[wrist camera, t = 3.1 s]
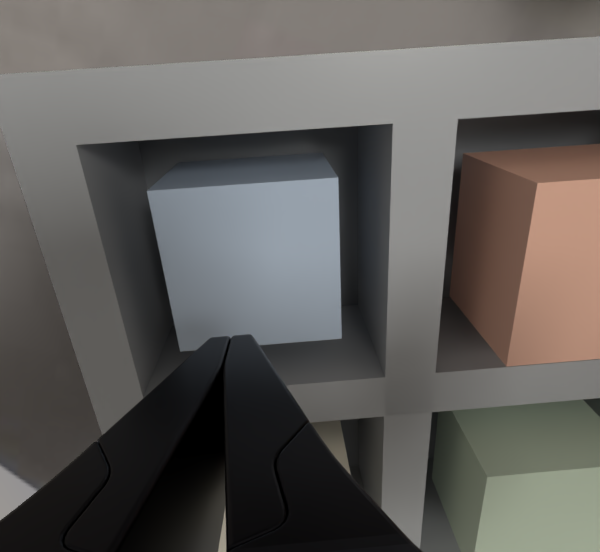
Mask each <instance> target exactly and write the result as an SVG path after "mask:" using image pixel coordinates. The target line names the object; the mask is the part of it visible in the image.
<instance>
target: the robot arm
mask: <svg viewBox="0 0 600 552" xmlns="http://www.w3.org/2000/svg"><path fill="white" fill-rule="evenodd" d="M225 510H226V552H423V551H422V550H421V549H419V548H418V547H417V546H416V545H415V544H414V543H413V542H412V541H411V540H410V539H409V538H408V537H407V536H406V535H405V534H404V533H403V532H402V531H401V529H400V528H399V527H398V526H397V525H396V524H395V523H394V522H393V521H392V520H391V519H390V518H389V516H388V515H387V514H386V513H385V512H384V511H383V510H382V509H381V508H380V507H379V506H378V504H377V503H376V502H375V501H374V500H373V499H372V498H371V497H370V496H369V495H368V494H367V493H366V491H365V490H364V489H363V488H362V487H361V486H360V485H359V484H358V483H357V482H356V481H355V480H354V478H353V477H352V476H351V475H350V474H349V473H348V471H347V470H346V469H345V468H344V467H343V466H342V465H341V463H340V462H339V461H338V460H337V459H336V458H335V456H334V455H333V454H332V452H331V451H330V450H329V448H328V447H327V445H326V444H325V443H324V441H323V440H322V439H321V437H320V436H319V434H318V433H317V431H316V430H315V428H314V427H313V425H312V424H311V423H310V421H309V420H308V418H307V417H306V415H305V414H304V412H303V411H302V409H301V408H300V406H299V405H298V403H297V402H296V400H295V399H294V397H293V395H292V394H291V392H290V391H289V389H288V388H287V386H286V385H285V383H284V382H283V380H282V379H281V377H280V376H279V374H278V373H277V371H276V370H275V368H274V367H273V365H272V364H271V362H270V361H269V359H268V358H267V356H266V355H265V353H264V352H263V350H262V349H261V347H260V346H259V344H258V343H257V341H256V340H255V338H254V337H253V336H252V335H251V334H245V335H234V336H232V338H230V337H229V336H220V337H211V338H209V339H208V340H207V341H206V342H205V343H204V344H203V345H201V346H200V347H199V348H198V349H197V350H196V351H195V352H194V353H193V354H191V355H190V356H189V357H188V358H187V359H186V360H185V361H184V362H183V363H182V364H180V365H179V366H178V367H177V368H176V369H175V370H174V371H173V372H172V373H170V374H169V375H168V376H167V377H166V378H165V379H164V380H163V381H162V382H160V383H159V384H158V385H157V386H156V387H155V388H154V389H153V390H152V391H151V392H149V393H148V394H147V395H146V396H145V397H144V398H143V399H142V400H141V401H139V402H138V403H137V404H136V405H135V406H134V407H133V408H132V409H131V410H130V411H128V412H127V413H126V414H125V415H124V416H123V417H122V418H121V419H120V420H118V421H117V422H116V423H115V424H114V425H113V426H112V427H111V428H110V429H109V430H107V431H106V432H105V433H104V434H103V435H102V436H101V437H100V438H99V439H98V442H94V443H93V444H92V445H91V446H89V447H88V448H87V449H86V450H85V451H84V452H83V453H82V454H81V455H80V456H78V457H77V458H76V459H75V460H74V461H73V462H72V463H70V464H69V465H68V466H67V467H66V468H65V469H63V470H62V471H61V472H60V473H59V474H58V475H57V476H55V477H54V478H53V479H52V480H51V481H50V482H48V483H47V484H46V485H45V486H43V487H42V488H41V489H40V490H38V491H37V492H36V493H35V494H33V495H32V496H31V497H30V498H29V499H27V500H26V501H25V502H23V503H22V504H21V505H20V506H18V507H17V508H16V509H15V510H13V511H12V512H11V513H9V514H8V515H7V516H6V517H4V518H3V519H2V520H0V552H218V549H219V542H220V536H221V530H222V524H223V518H224V512H225Z"/></svg>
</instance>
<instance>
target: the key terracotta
mask: <svg viewBox="0 0 600 552" xmlns="http://www.w3.org/2000/svg"><path fill="white" fill-rule="evenodd" d="M449 296H450V297H451V299H452V300H453V301H454V302H455V304H456V305H457V306H458V307H459V309H460V310H461V311H462V312H463V314H464V315H465V316H466V317H467V318H468V320H469V321H470V322H471V323H472V325H473V326H474V327H475V328H476V330H477V331H478V332H479V333H480V335H481V336H482V337H483V338H484V340H485V341H486V342H487V343H488V345H489V346H490V347H491V348H492V350H493V351H494V352H495V353H496V355H497V356H498V357H499V358H500V360H501V361H502V362H503V363H504V364H505V366H506V367H508V366H520V365H532V364H544V363H556V362H568V361H580V360H592V359H600V144H589V145H574V146H560V147H546V148H531V149H517V150H503V151H488V152H474V153H463V159H462V170H461V180H460V190H459V201H458V211H457V222H456V232H455V242H454V253H453V263H452V274H451V284H450V294H449Z"/></svg>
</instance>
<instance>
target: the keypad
mask: <svg viewBox="0 0 600 552" xmlns="http://www.w3.org/2000/svg"><path fill="white" fill-rule="evenodd" d="M0 127H1V130H2V133H3V136H4V139H5V142H6V145H7V148H8V152H9V155H10V158H11V161H12V164H13V167H14V170H15V173H16V176H17V179H18V182H19V185H20V188H21V191H22V194H23V197H24V200H25V203H26V206H27V209H28V212H29V215H30V218H31V221H32V224H33V227H34V230H35V233H36V236H37V239H38V242H39V246H40V249H41V252H42V255H43V258H44V261H45V264H46V267H47V270H48V273H49V276H50V279H51V282H52V285H53V288H54V291H55V294H56V297H57V300H58V303H59V306H60V309H61V312H62V315H63V318H64V321H65V324H66V327H67V330H68V333H69V336H70V340H71V343H72V346H73V349H74V352H75V355H76V358H77V361H78V364H79V367H80V370H81V373H82V376H83V379H84V382H85V385H86V388H87V391H88V394H89V397H90V400H91V403H92V406H93V409H94V412H95V415H96V418H97V421H98V424H99V427H100V430H101V434H102V435H103V434H104V433H105V432H106V431H107V430H109V429H110V428H111V427H112V426H113V425H114V424H115V423H116V422H117V421H118V420H120V419H121V418H122V417H123V416H124V415H125V414H126V413H127V412H128V411H130V410H131V409H132V408H133V407H134V406H135V405H136V404H137V403H138V402H139V401H141V400H142V399H143V398H144V397H145V396H146V395H147V394H148V393H149V392H151V391H152V390H153V389H154V388H155V387H156V386H157V385H158V384H159V383H160V382H162V381H163V380H164V379H165V378H166V377H167V376H168V375H169V374H170V373H172V372H173V371H174V370H175V369H176V368H177V367H178V366H179V365H180V364H182V363H183V362H184V361H185V360H186V359H187V358H188V357H189V356H190V355H191V354H193V353H194V352H195V351H196V350H194V351H181V352H180V348H179V343H178V339H177V334H176V329H175V324H174V319H173V315H172V310H171V305H170V300H169V295H168V290H167V286H166V281H165V276H164V271H163V266H162V262H161V257H160V252H159V247H158V242H157V238H156V233H155V228H154V223H153V218H152V214H151V209H150V204H149V199H148V194H147V190H148V189H150V188H151V187H152V186H153V185H154V184H155V183H156V182H157V181H159V180H160V179H161V178H162V177H163V176H164V175H165V174H166V173H167V172H169V171H170V170H171V169H172V168H173V167H174V166H175V165H176V164H177V163H179V162H190V161H205V160H219V159H234V158H248V157H263V156H277V155H292V154H306V153H321V152H322V153H323V155H324V156H325V158H326V159H327V161H328V162H329V164H330V165H331V167H332V168H333V170H334V172H335V173H336V175H337V176H338V186H339V232H340V279H341V326H342V339H331V340H318V341H306V342H294V343H281V344H269V345H259V346H260V347H261V349H262V350H263V352H264V353H265V355H266V356H267V358H268V359H269V361H270V362H271V364H272V365H273V367H274V368H275V370H276V371H277V373H278V374H279V376H280V377H281V379H282V380H283V382H284V383H285V385H286V386H287V388H288V389H289V391H290V392H291V394H292V395H293V397H294V399H295V400H296V402H297V403H298V405H299V406H300V408H301V409H302V411H303V412H304V414H305V415H306V417H307V418H308V420H309V421H310V423H312V422H324V421H336V420H340V422H341V427H342V433H343V438H344V443H345V448H346V453H347V458H348V463H349V468H350V474H351V476H352V477H353V478H354V480H355V481H356V482H357V483H358V484H359V485H360V486H361V487H362V488H363V489H364V490H365V491H366V493H367V494H368V495H369V496H370V497H371V498H372V499H373V500H374V501H375V502H376V503H377V504H378V506H379V507H380V508H381V509H382V510H383V511H384V512H385V513H386V514H387V515H388V516H389V518H390V519H391V520H392V521H393V522H394V523H395V524H396V525H397V526H398V527H399V528H400V529H401V531H402V532H403V533H404V534H405V535H406V536H407V537H408V538H409V539H410V540H411V541H412V542H413V543H414V544H415V545H416V546H417V547H418V548H419V549H421V550H422V551H423V552H461V551H460V549H459V546H458V543H457V541H456V538H455V536H454V533H453V531H452V528H451V526H450V523H449V521H448V518H447V516H446V513H445V511H444V508H443V505H442V503H441V500H440V498H439V495H438V493H437V490H436V488H435V485H434V483H433V480H432V471H433V461H434V450H435V440H436V430H437V419H438V412H442V411H453V410H465V409H477V408H488V407H500V406H512V405H524V404H535V403H547V402H559V401H571V400H582V399H583V400H584V401H585V402H586V403H587V404H588V405H589V406H590V407H591V408H592V409H593V411H594V412H595V413H596V414H597V415H598V416H599V417H600V359H592V360H580V361H568V362H556V363H544V364H532V365H520V366H508V367H506V366H505V364H504V363H503V362H502V361H501V360H500V358H499V357H498V356H497V355H496V353H495V352H494V351H493V350H492V348H491V347H490V346H489V345H488V343H487V342H486V341H485V340H484V338H483V337H482V336H481V335H480V333H479V332H478V331H477V330H476V328H475V327H474V326H473V325H472V323H471V322H470V321H469V320H468V318H467V317H466V316H465V315H464V314H463V312H462V311H461V310H460V309H459V307H458V306H457V305H456V304H455V302H454V301H453V300H452V299H451V297H450V296H449V294H450V284H451V274H452V263H453V253H454V242H455V232H456V222H457V211H458V201H459V190H460V180H461V170H462V159H463V153H474V152H488V151H503V150H517V149H531V148H546V147H560V146H574V145H589V144H600V36H599V37H583V38H567V39H551V40H535V41H519V42H503V43H487V44H472V45H456V46H440V47H424V48H408V49H392V50H376V51H361V52H345V53H329V54H313V55H297V56H281V57H265V58H249V59H234V60H218V61H202V62H186V63H170V64H154V65H138V66H123V67H107V68H91V69H75V70H59V71H43V72H27V73H11V74H0Z"/></svg>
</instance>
